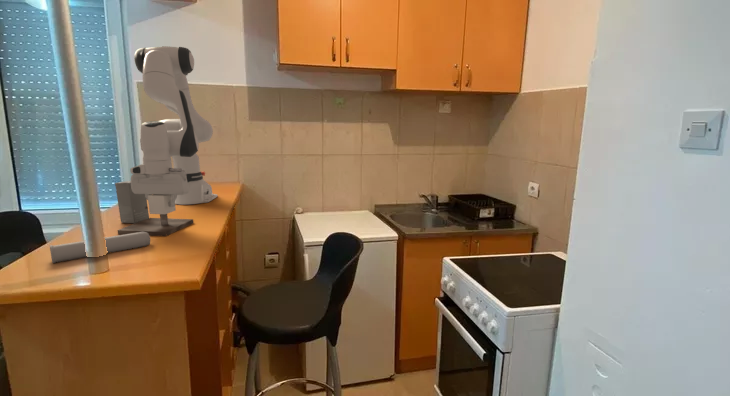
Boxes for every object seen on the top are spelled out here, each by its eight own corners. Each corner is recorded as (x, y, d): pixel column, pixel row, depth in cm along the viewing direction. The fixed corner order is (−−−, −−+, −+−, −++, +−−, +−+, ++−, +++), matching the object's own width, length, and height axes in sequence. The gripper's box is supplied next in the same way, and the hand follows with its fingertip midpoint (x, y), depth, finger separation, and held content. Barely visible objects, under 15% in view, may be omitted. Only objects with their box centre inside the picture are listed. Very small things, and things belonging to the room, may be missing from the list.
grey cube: (160, 210, 145) (158, 192, 144) (175, 210, 144) (173, 193, 143) (149, 213, 139) (147, 195, 138) (165, 214, 138) (163, 196, 137)
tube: (147, 230, 127) (49, 246, 112) (150, 229, 123) (49, 244, 108) (150, 246, 127) (52, 264, 112) (153, 245, 123) (52, 263, 108)
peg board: (150, 221, 153) (148, 205, 152) (193, 223, 150) (191, 206, 149) (118, 234, 136) (115, 216, 135) (165, 236, 134) (163, 217, 133)
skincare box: (134, 224, 150) (129, 183, 146) (118, 223, 151) (113, 182, 148) (150, 218, 158) (146, 179, 154) (135, 217, 159) (130, 179, 156)
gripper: (190, 167, 140) (194, 205, 143) (138, 166, 143) (142, 203, 146) (180, 169, 134) (184, 209, 137) (125, 168, 137) (130, 207, 139)
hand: (162, 206), depth 141 cm, fingers closed on grey cube, 6 cm apart
